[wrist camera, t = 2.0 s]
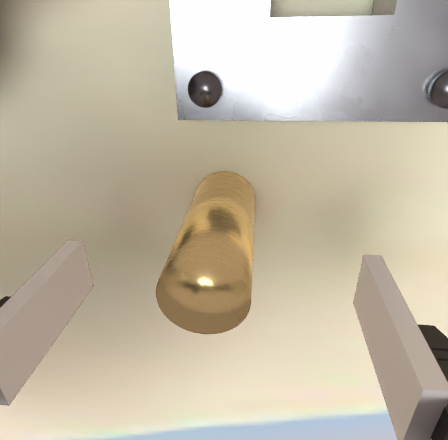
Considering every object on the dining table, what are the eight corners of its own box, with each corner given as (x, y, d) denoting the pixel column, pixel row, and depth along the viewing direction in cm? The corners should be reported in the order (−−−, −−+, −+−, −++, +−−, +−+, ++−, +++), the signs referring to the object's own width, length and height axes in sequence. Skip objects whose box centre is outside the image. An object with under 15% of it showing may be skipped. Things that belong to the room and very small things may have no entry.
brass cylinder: (197, 224, 24) (161, 331, 15) (194, 170, 22) (150, 257, 14) (254, 226, 24) (249, 336, 15) (255, 172, 22) (252, 262, 13)
